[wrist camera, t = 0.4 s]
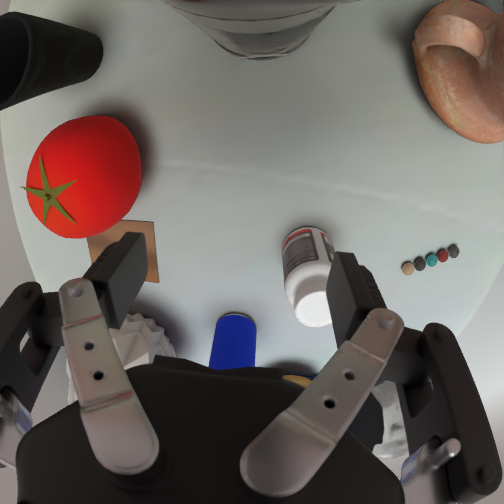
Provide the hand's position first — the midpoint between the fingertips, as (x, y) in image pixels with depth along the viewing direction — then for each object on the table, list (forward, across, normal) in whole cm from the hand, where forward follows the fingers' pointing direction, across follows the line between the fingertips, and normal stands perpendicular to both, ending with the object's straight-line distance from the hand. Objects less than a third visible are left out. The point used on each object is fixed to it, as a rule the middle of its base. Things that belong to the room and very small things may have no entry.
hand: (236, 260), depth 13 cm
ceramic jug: (+17, -19, -14) cm, 29 cm away
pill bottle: (+18, -6, +9) cm, 21 cm away
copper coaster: (+18, +14, +12) cm, 26 cm away
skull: (+8, -19, +34) cm, 39 cm away
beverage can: (+18, 0, +21) cm, 28 cm away
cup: (+18, +18, -11) cm, 27 cm away
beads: (+18, -22, +9) cm, 29 cm away
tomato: (+18, +15, +1) cm, 23 cm away
